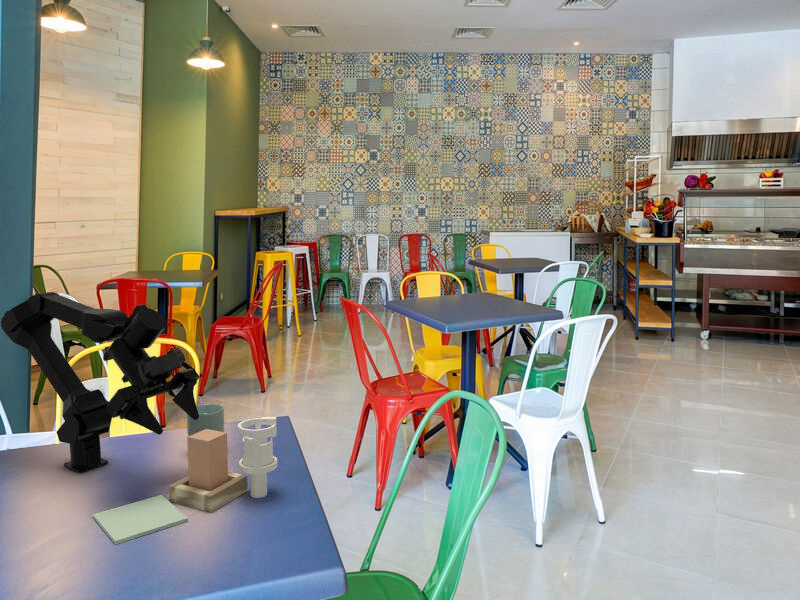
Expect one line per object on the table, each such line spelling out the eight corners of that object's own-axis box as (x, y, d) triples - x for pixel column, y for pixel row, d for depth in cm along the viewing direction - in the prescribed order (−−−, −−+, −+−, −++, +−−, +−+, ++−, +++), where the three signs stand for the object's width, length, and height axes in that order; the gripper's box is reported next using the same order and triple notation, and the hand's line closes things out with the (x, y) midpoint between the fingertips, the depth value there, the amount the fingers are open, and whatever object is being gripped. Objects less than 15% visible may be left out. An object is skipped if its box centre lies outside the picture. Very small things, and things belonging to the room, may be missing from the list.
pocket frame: (169, 501, 116) (168, 485, 116) (207, 481, 125) (207, 466, 125) (211, 512, 112) (210, 496, 112) (247, 490, 121) (247, 475, 121)
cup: (214, 459, 136) (212, 415, 135) (181, 456, 138) (179, 412, 137) (231, 447, 144) (229, 404, 143) (199, 444, 145) (198, 402, 144)
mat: (92, 517, 110) (92, 514, 110) (161, 497, 118) (161, 494, 118) (115, 544, 101) (115, 541, 101) (187, 521, 109) (187, 517, 109)
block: (189, 498, 117) (187, 436, 116) (208, 488, 122) (206, 428, 120) (210, 504, 115) (208, 441, 114) (228, 493, 120) (226, 432, 118)
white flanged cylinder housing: (277, 501, 117) (275, 423, 115) (238, 504, 115) (236, 425, 113) (278, 485, 124) (276, 411, 122) (241, 487, 122) (239, 413, 120)
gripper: (114, 346, 112) (163, 414, 108) (190, 329, 128) (235, 388, 125) (86, 384, 116) (132, 451, 113) (164, 363, 133) (206, 421, 129)
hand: (180, 425), depth 120 cm, fingers open, 9 cm apart
